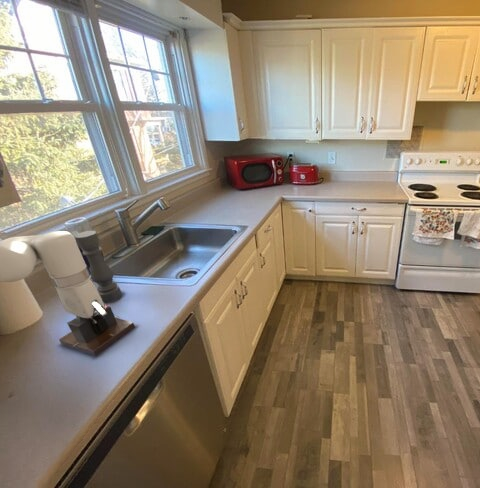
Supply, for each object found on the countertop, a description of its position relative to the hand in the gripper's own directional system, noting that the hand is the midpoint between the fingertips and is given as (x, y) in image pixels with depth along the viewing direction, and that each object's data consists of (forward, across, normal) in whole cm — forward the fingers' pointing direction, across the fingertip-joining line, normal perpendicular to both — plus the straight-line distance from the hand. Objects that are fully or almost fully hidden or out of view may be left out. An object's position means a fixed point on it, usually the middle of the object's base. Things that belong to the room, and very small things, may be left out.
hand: (96, 328), depth 82 cm
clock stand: (+3, 0, 0) cm, 3 cm away
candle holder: (+3, -15, +15) cm, 21 cm away
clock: (+1, 0, 0) cm, 1 cm away
